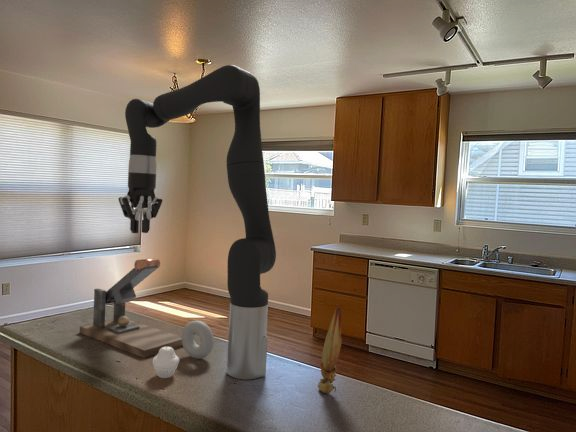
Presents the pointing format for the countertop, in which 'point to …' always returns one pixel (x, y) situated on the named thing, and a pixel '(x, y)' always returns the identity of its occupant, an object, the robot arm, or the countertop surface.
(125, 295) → the lever
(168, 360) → the white rounded bulbous piece
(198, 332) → the donut
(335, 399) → the countertop surface
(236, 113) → the robot arm
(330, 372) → the tan tall pointed piece
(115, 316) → the cracker base
